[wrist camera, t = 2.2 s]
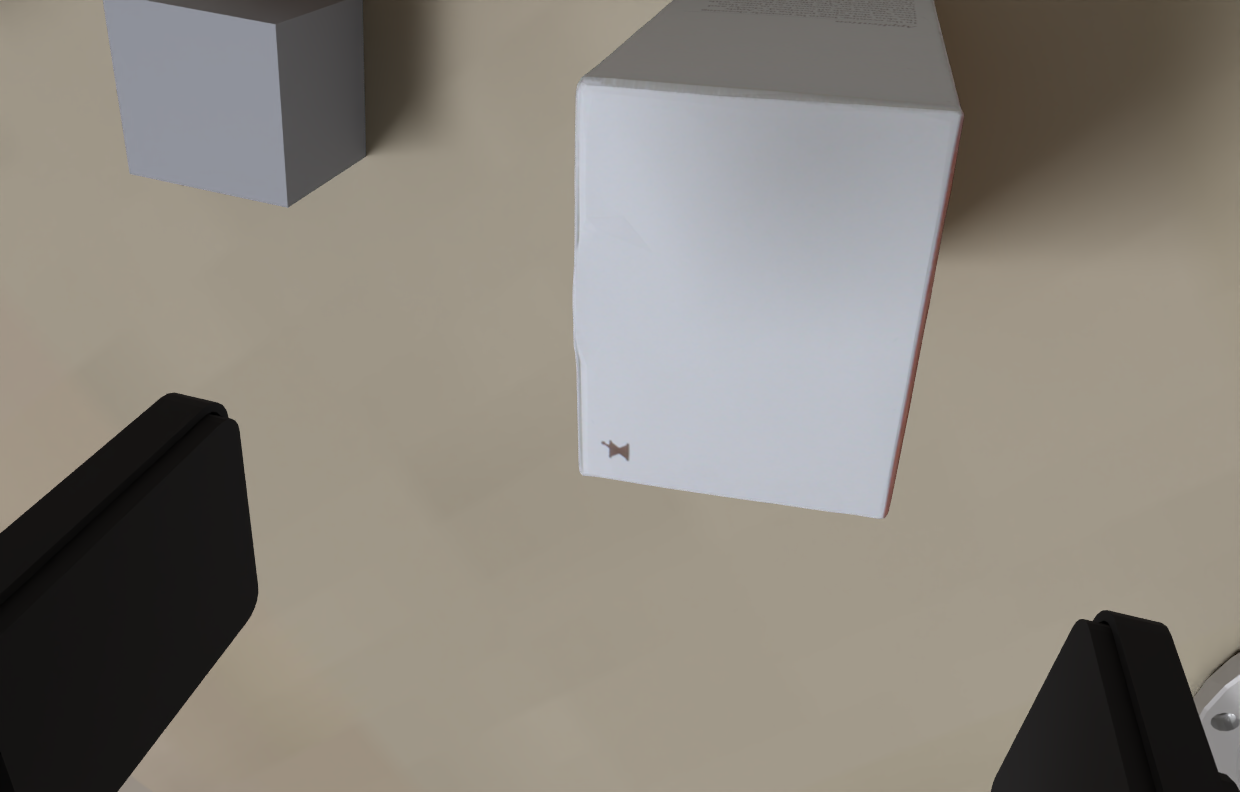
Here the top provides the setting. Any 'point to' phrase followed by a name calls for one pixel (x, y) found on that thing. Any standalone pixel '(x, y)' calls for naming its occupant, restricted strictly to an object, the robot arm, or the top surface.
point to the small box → (760, 246)
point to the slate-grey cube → (240, 92)
